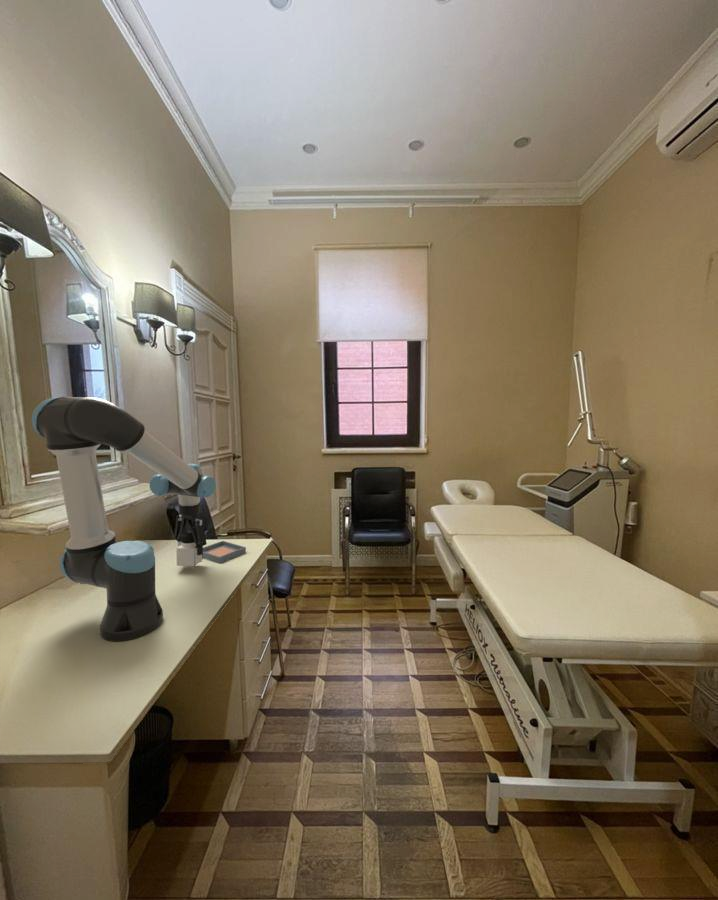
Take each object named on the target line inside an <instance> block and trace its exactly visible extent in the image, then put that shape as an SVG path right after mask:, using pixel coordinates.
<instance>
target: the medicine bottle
mask: <svg viewBox="0 0 718 900" xmlns="http://www.w3.org/2000/svg"><path fill="white" fill-rule="evenodd" d="M181 544H182V545H180V546H179V547H178V546H177V547H176V566H177V567H178V566H180V567H196V566H197V565H199V563H197V564H195V553H194V547H195V546H196V544H195V541H194V538H193V535H192V532H191V531H187V532H185V533H183V534H182V535H181ZM198 544H199V543H198ZM203 547H204V546H203ZM203 547H202V561H203V559H204V558H203Z"/></svg>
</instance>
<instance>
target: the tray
mask: <svg viewBox="0 0 718 900" xmlns="http://www.w3.org/2000/svg"><path fill="white" fill-rule="evenodd" d="M246 549H247V548H246V546H243V545H239V544H236V543H232V542H228V541H226V540H225V541H224V540H221V541H218V542H216V543H213V544H210V545H205V546H203V559H204V560H208V561H211V562H213V563H217V564H222V563H224V562H227V561H228V560H232V559H233V558H236V557H238V555H239V556H241V555H244V554H246V553H247V550H246ZM243 553H244V554H243Z"/></svg>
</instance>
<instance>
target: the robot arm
mask: <svg viewBox="0 0 718 900" xmlns="http://www.w3.org/2000/svg"><path fill="white" fill-rule="evenodd" d="M31 425H32V427H33V430H34V431H35V433H37V435H39V436H40V437H42V438H44V439H45V444H46V449H47V451H48V452H50V453H51V454H53V455H55V456H56V461H57V462H56V463H57V468H58V473H59V479H60V484H61V490H62V495H63V500H64V506H65V512H66V516H67V521H68V527H69V534H70V538H69V539H68V540H67V542H66V543H65V549H64V550H63V554H62V555H61V556H60V559H59V569H60V571H61V574H62V575H63V576H64V577H65V578H67V580H70V581H73V582H74V583H78V584H81V585H89V586H94V587H99V588H103V589H106V608H105V610H104V613H103V616H102V620H101V623H100V637H101V638H102V639H104V640H106V641H110V642H123V641H124V642H125V641H129V640H134V639H138V638H140V637H143V636H145V635H147V634H150V633H151V632H153V631H154V630H156V629H157V628H158V627H159V626H161V624H162V622H163V620H164V611H163V607H162V605H161V603H160V602H159V601H160V600H159V598H158V596H157V595H156V557H155V550H154V547H153V546H152V545H151V544H150V543H148V542H146V541H142V540H124V541H123V540H122V541H119V542H117V538H116V537H117V536H116V533H115V532H114V531H113V530H110V529H109V527H108V522H107V516H106V508H105V504H104V503H105V502H104V498H103V490H102V484H101V478H100V473H99V465H98V460H97V454H96V451H97V449H98V448H99V447H100V446H101V444H103V445H106V446H109V447H111V448H113V449H114V450H115V451H117V452H121V453H122V452H125V453H127V454H128V455H130V456H132V457H133V458H135V459H137V460H138V461H139V462H140V463H142V464H144V465H145V466H147V467H148V468H149V469H151V470H153V471H154V472H156V473H157V474H155V475H152V477H151V478H150V480H149V484H148V485H149V489H150V491H151V493H152V494H154V495H155V496H166V495H178V514H179V515H176V516H175V520H176V521H175V529H174V534H173V539H174V540H176V541H177V547H179V546H180V545H182V544H181V535H182V534H183V533H185V532H188V530H189V532H192V535H193V538H194V541H195V544H196V546H195V547H194V553H195V564H197V563H198V564H200V563H202V562H203V560H202V547H205V546H207V544H208V543H207V538H206V537H207V536H206V532H205V525H204V523H205V520H204V519H200V518H199V516H198V515H199V514H200V513H201V504H200V502H201V498H210V497H211V496H212V495H214V493H215V491H216V489H217V481H216V480H215V478H214V477H213V476H211V475H204V474H202V473H201V470H200V469H201V468H200V465H199V464H197V463H187V462H186V461H184V459H182V458H180V456H178V455H177V454H176V453H174V452H173V451H172V450H171V449H169V448H167V447H166V446H165V445H164V444H162V443H161V441H160V440H158V439H156V438H155V437H154V436H153V435H151V434H150V433H148V431H146V426H145V425H144V424H143V423H142V422H141V421H139V420H138V419H137V418H136V417H135V416H133V415H131V414H130V413H129V412H127V411H126V410H124V409H123V408H121V407H119V406H118V405H116V404H114V403H113V402H111V401H108V400H106V399H103V398H100V397H92V396H89V397H88V396H87V397H83V396H81V397H80V396H79V397H78V396H76V397H74V396H59V397H51V398H47V399H45V400H43V401H41V402H40V403H39V404H38V405H37V406H36V407H35V408H34V410H33V412H32V415H31ZM198 543H199V544H198ZM198 564H197V565H198Z"/></svg>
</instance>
